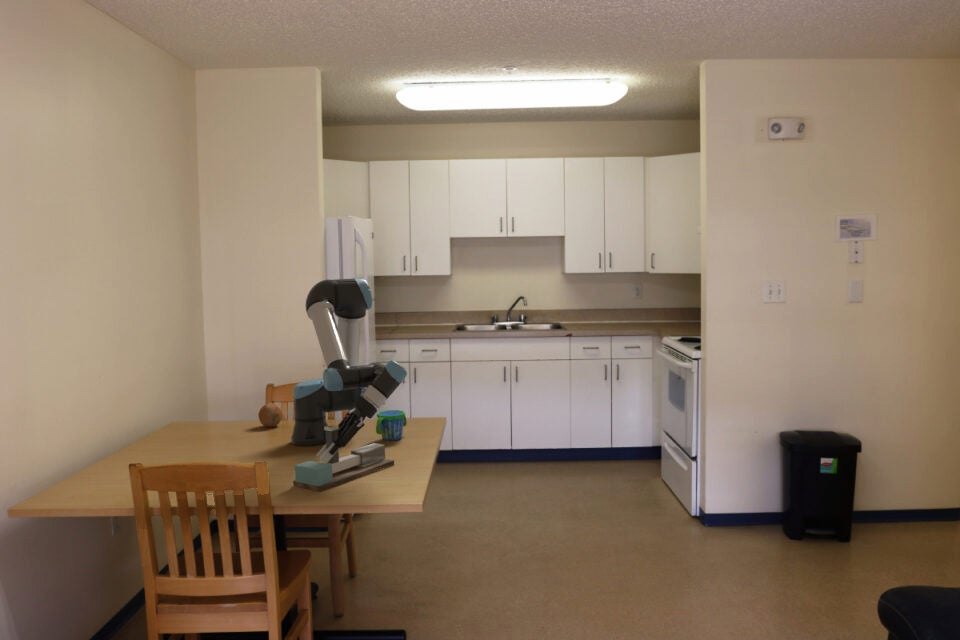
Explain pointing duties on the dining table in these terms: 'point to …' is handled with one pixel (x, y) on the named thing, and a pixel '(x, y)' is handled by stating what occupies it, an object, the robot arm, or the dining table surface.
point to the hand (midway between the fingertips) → (321, 459)
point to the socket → (313, 473)
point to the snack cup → (391, 424)
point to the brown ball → (270, 415)
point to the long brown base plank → (356, 467)
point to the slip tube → (335, 461)
